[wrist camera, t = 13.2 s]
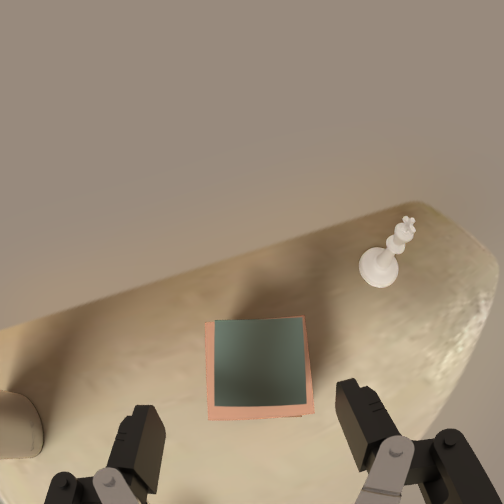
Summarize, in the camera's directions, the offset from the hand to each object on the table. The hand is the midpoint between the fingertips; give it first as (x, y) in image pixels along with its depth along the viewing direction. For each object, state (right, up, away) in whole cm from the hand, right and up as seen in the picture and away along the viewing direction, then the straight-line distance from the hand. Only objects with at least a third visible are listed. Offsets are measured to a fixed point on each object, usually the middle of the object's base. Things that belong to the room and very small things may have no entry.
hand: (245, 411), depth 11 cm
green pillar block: (+1, -2, +10) cm, 10 cm away
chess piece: (+15, +5, +21) cm, 26 cm away
